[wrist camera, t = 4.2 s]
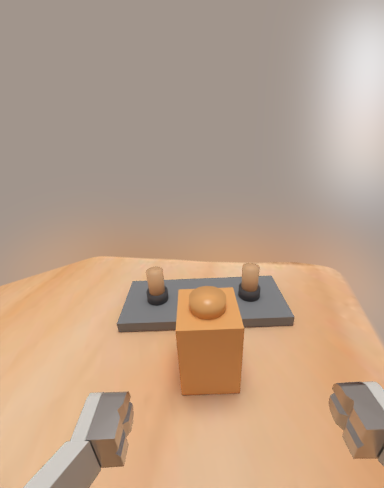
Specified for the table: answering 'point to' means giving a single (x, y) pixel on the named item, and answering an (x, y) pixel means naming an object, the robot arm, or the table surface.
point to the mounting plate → (166, 291)
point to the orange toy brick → (209, 340)
